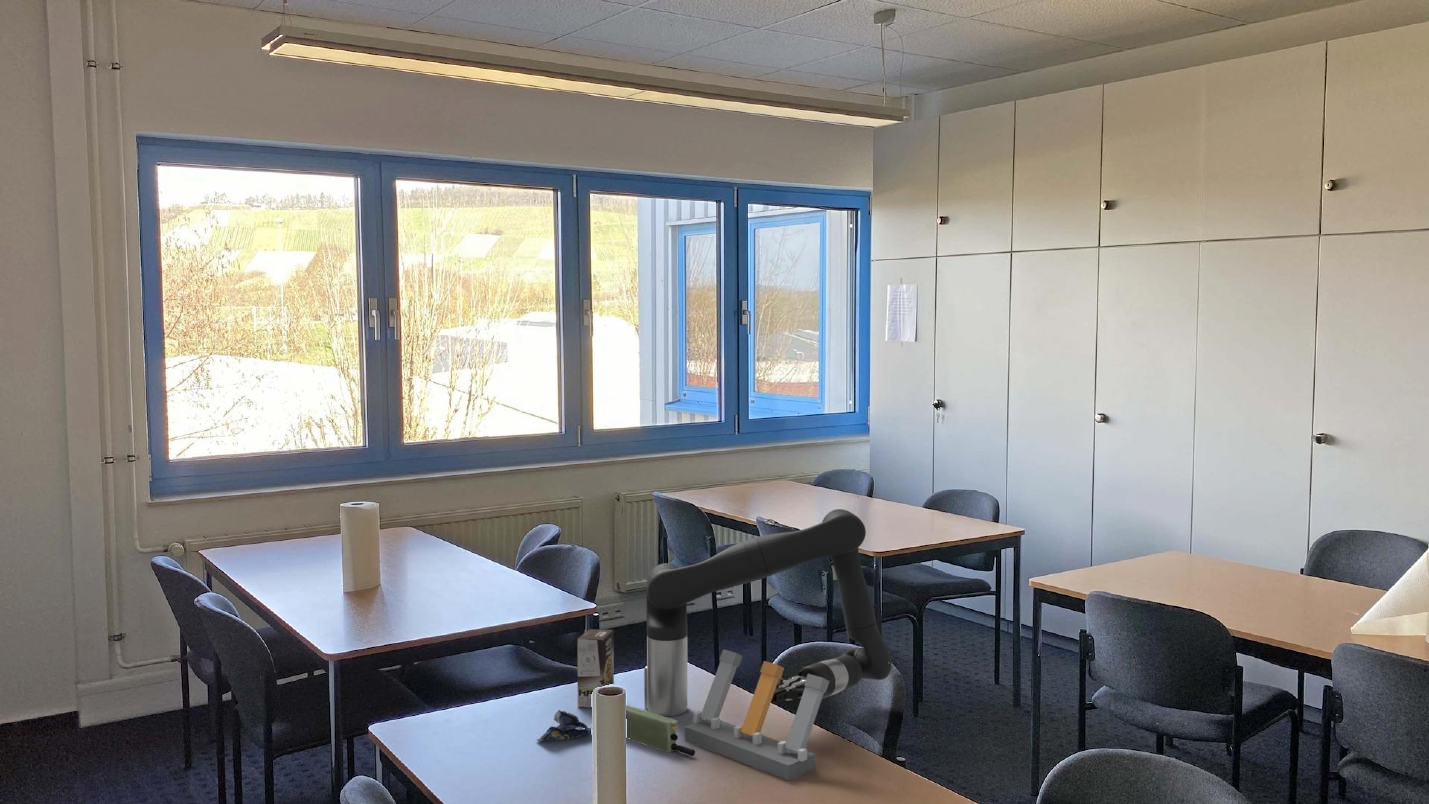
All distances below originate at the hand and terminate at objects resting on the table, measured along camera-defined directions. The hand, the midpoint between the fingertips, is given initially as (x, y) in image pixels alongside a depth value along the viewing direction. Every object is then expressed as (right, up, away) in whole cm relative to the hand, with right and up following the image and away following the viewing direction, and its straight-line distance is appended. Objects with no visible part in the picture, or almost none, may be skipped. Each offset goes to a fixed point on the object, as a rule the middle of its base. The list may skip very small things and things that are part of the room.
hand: (770, 698), depth 220 cm
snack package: (-43, -10, +6) cm, 45 cm away
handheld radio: (-25, -10, +2) cm, 28 cm away
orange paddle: (-5, -7, -4) cm, 10 cm away
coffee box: (-39, -9, +28) cm, 49 cm away
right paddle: (+4, -8, -13) cm, 16 cm away
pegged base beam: (-5, -10, -4) cm, 12 cm away
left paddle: (-13, -7, +4) cm, 16 cm away
